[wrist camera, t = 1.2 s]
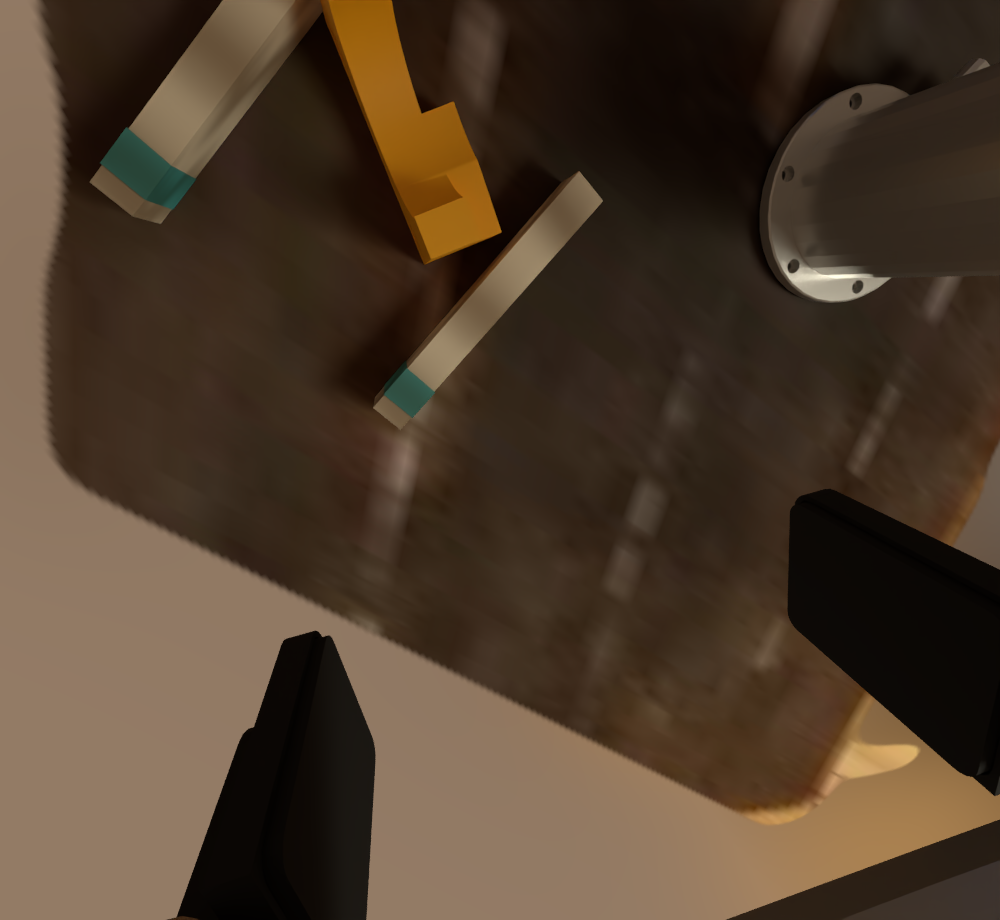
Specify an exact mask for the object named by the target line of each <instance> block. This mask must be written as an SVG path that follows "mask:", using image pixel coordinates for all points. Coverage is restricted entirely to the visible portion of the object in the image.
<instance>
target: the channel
mask: <svg viewBox="0 0 1000 920" xmlns="http://www.w3.org/2000/svg"><path fill="white" fill-rule="evenodd" d="M322 12H323V9H322V5H321V2H320V0H223V1H222V2H221V3H220V5H219V6H218V8H217V9H216V10H215V12H214V13H213V14H212V16H211V17H210V18H209V20H208V21H207V23H206V24H205V25H204V27H203V28H202V29H201V31H200V32H199V33H198V35H197V36H196V38H195V39H194V40H193V42H192V43H191V44H190V46H189V47H188V48H187V50H186V51H185V53H184V54H183V55H182V57H181V58H180V59H179V61H178V62H177V63H176V65H175V66H174V68H173V69H172V70H171V72H170V73H169V74H168V76H167V77H166V78H165V80H164V81H163V83H162V84H161V85H160V87H159V88H158V89H157V91H156V92H155V93H154V95H153V96H152V97H151V99H150V100H149V102H148V103H147V104H146V106H145V107H144V108H143V110H142V111H141V112H140V114H139V115H138V117H137V118H136V119H135V121H134V122H133V123H132V125H131V126H130V127H129V129H128V128H127V127H126V128H125V130H124V131H123V132H122V134H121V135H120V136H119V138H118V139H117V141H116V142H115V143H114V145H113V146H112V147H111V149H110V150H109V151H108V153H107V154H106V156H105V157H104V158H103V160H102V161H101V162H100V163H101V164H102V166H101V167H100V168H99V170H98V171H97V172H96V174H95V175H94V177H93V178H92V179H91V181H90V183H91V184H93V185H94V186H95V187H96V188H98V189H99V190H100V191H101V192H103V193H104V194H105V195H106V196H108V197H109V198H110V199H111V200H113V201H114V202H115V203H116V204H118V205H119V206H120V207H121V208H123V209H124V210H125V211H127V212H128V213H129V214H130V215H132V216H133V217H137V218H140V219H144V220H148V221H152V222H155V223H159V224H161V223H162V222H163V220H164V219H165V218H166V216H167V215H168V214H169V212H170V211H171V210H172V209H174V208H175V207H176V205H177V204H178V203H179V201H180V200H181V199H182V197H183V196H184V195H185V193H186V192H187V191H188V189H189V188H190V187H191V186H192V184H193V183H194V182H195V180H196V179H195V178H196V177H197V176H198V174H199V173H200V172H201V171H202V169H203V168H204V167H205V165H206V164H207V163H208V161H209V160H210V159H211V157H212V156H213V155H214V153H215V152H216V151H217V150H218V148H219V147H220V146H221V144H222V143H223V142H224V140H225V139H226V138H227V136H228V135H229V134H230V133H231V131H232V130H233V129H234V127H235V126H236V125H237V123H238V122H239V121H240V119H241V118H242V117H243V115H244V114H245V113H246V112H247V110H248V109H249V108H250V106H251V105H252V104H253V102H254V101H255V100H256V98H257V97H258V96H259V95H260V93H261V92H262V91H263V89H264V88H265V87H266V85H267V84H268V83H269V81H270V80H271V79H272V78H273V76H274V75H275V74H276V72H277V71H278V70H279V68H280V67H281V66H282V64H283V63H284V62H285V60H286V59H287V58H288V57H289V55H290V54H291V53H292V51H293V50H294V49H295V47H296V46H297V45H298V43H299V42H300V41H301V40H302V38H303V37H304V36H305V34H306V33H307V32H308V30H309V29H310V28H311V26H312V25H313V24H314V22H315V21H316V20H317V19H318V17H319V16H320V15H321V13H322ZM602 202H603V200H602V199H601V198H600V196H599V195H598V194H597V193H596V191H595V190H594V189H593V188H592V186H591V185H590V184H589V183H588V181H587V180H586V179H585V178H584V176H583V175H582V174H581V173H580V171H579V172H577V173H576V174H574V175H572V176H571V177H569V178H568V179H566V180H564V181H563V182H561V184H560V185H559V186H558V187H557V188H556V189H555V190H554V192H553V193H552V194H551V195H550V196H549V197H548V198H547V200H546V201H545V202H544V203H543V204H542V205H541V207H540V208H539V209H538V210H537V211H536V212H535V213H534V215H533V216H532V217H531V218H530V219H529V220H528V222H527V223H526V224H525V225H524V226H523V227H522V228H521V230H520V231H519V232H518V233H517V234H516V235H515V236H514V238H513V239H512V240H511V241H510V242H509V243H508V245H507V246H506V247H505V248H504V249H503V250H502V251H501V253H500V254H499V255H498V256H497V257H496V258H495V259H494V261H493V262H492V263H491V264H490V265H489V266H488V268H487V269H486V270H485V271H484V272H483V273H482V274H481V276H480V277H479V278H478V279H477V280H476V281H475V282H474V284H473V285H472V286H471V287H470V288H469V289H468V291H467V292H466V293H465V294H464V295H463V296H462V297H461V299H460V300H459V301H458V302H457V303H456V304H455V305H454V307H453V308H452V309H451V310H450V311H449V312H448V314H447V315H446V316H445V317H444V318H443V319H442V320H441V322H440V323H439V324H438V325H437V326H436V327H435V329H434V330H433V331H432V332H431V333H430V334H429V335H428V337H427V338H426V339H425V340H424V341H423V342H422V343H421V345H420V346H419V347H418V348H417V349H416V350H415V352H414V353H413V354H412V355H411V356H410V357H409V358H408V360H407V361H405V362H404V363H403V364H402V365H401V366H400V368H399V369H398V370H397V371H396V372H395V373H394V374H393V376H392V377H391V378H390V379H389V380H388V381H387V382H386V384H385V386H384V387H383V388H382V389H381V391H380V392H379V393H378V394H377V395H376V396H375V400H374V405H373V408H374V409H375V410H376V411H378V412H379V413H380V414H381V415H383V416H384V417H385V418H386V419H388V420H389V421H390V422H392V423H393V424H394V425H395V426H397V427H398V428H399V429H400V430H401V429H402V427H403V426H404V425H405V424H406V423H407V422H408V421H409V420H410V418H411V417H412V418H413V417H414V416H415V415H416V413H417V412H418V411H419V410H420V409H421V408H422V407H423V406H424V404H425V403H426V402H427V401H428V400H429V399H430V398H431V397H432V395H433V394H434V393H435V390H436V389H437V388H438V387H439V386H440V385H441V383H442V382H443V381H444V380H445V379H446V378H447V377H448V376H449V374H450V373H451V372H452V371H453V370H454V369H455V368H456V366H457V365H458V364H459V363H460V362H461V361H462V360H463V359H464V357H465V356H466V355H467V354H468V353H469V352H470V351H471V350H472V348H473V347H474V346H475V345H476V344H477V343H478V342H479V341H480V339H481V338H482V337H483V336H484V335H485V334H486V333H487V331H488V330H489V329H490V328H491V327H492V326H493V325H494V324H495V322H496V321H497V320H498V319H499V318H500V317H501V316H502V315H503V313H504V312H505V311H506V310H507V309H508V308H509V307H510V306H511V304H512V303H513V302H514V301H515V300H516V299H517V298H518V296H519V295H520V294H521V293H522V292H523V291H524V290H525V289H526V287H527V286H528V285H529V284H530V283H531V282H532V281H533V280H534V278H535V277H536V276H537V275H538V274H539V273H540V272H541V271H542V269H543V268H544V267H545V266H546V265H547V264H548V263H549V262H550V260H551V259H552V258H553V257H554V256H555V255H556V254H557V252H558V251H559V250H560V249H561V248H562V247H563V246H564V245H565V243H566V242H567V241H568V240H569V239H570V238H571V237H572V236H573V234H574V233H575V232H576V231H577V230H578V229H579V228H580V227H581V225H582V224H583V223H584V222H585V221H586V220H587V219H588V217H589V216H590V215H591V214H592V213H593V212H594V211H595V210H596V208H597V207H598V206H599V205H600V204H601V203H602Z"/></svg>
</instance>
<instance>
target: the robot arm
mask: <svg viewBox="0 0 1000 920" xmlns="http://www.w3.org/2000/svg"><path fill="white" fill-rule="evenodd" d="M760 236H761V242H762V248H763V251H764V254H765V257H766V259H767V262H768V265H769V267H770V268H771V270H772V272H773V273H774V275H775V277H776V278H777V280H778V281H779V282H780V283H781V284H782V285H783V286H784V287H785V288H786V289H787V290H789V291H790V292H792V293H794V294H795V295H797V296H799V297H800V298H804V299H807V300H810V301H813V302H828V303H833V302H846V301H850V300H854V299H857V298H860V297H862V296H864V295H866V294H868V293H870V292H872V291H874V290H876V289H877V288H878V287H880V286H881V285H882V284H884V283H885V282H886V281H888V280H889V279H890V278H891V277H942V276H997V275H1000V62H999V63H996V64H994V65H991V66H990V65H989V64H988V62H987V61H986V60H983V59H980V58H977V59H972V60H970V61H969V62H968V63H966V64H965V65H964V66H963V67H962V68H961V69H960V71H959V72H958V73H957V74H956V75H955V76H954V77H953V78H952V79H951V80H950V81H948V82H945V83H942V84H940V85H937V86H934V87H932V88H929V89H926V90H924V91H921V92H918V93H915V94H913V95H909V94H908V93H906V92H904V91H902V90H900V89H898V88H896V87H894V86H890V85H884V84H877V83H874V84H865V85H858V86H855V87H853V88H850V89H847V90H844V91H842V92H839V93H837V94H835V95H833V96H831V97H829V98H827V99H825V100H823V101H821V102H820V103H819V104H817V105H816V106H815V107H813V108H812V109H811V110H810V111H808V112H807V113H806V114H805V115H804V116H803V117H802V118H801V119H800V120H799V121H798V122H797V123H796V124H795V126H794V127H793V128H792V129H791V130H790V132H789V133H788V135H787V136H786V138H785V139H784V141H783V142H782V144H781V145H780V147H779V148H778V150H777V153H776V155H775V157H774V159H773V161H772V163H771V165H770V167H769V170H768V174H767V177H766V180H765V183H764V187H763V191H762V198H761V204H760ZM788 616H789V619H790V621H791V623H792V624H793V626H794V627H795V628H796V629H797V630H798V631H799V632H800V633H801V634H802V635H803V636H805V637H806V638H807V639H808V640H809V641H810V642H811V643H812V644H814V645H815V646H816V647H817V648H818V649H819V650H820V651H822V652H823V653H824V654H825V655H826V656H827V657H828V658H830V659H831V660H832V661H833V662H834V663H835V664H836V665H837V666H839V667H840V668H841V669H842V670H843V671H844V672H845V673H847V674H848V675H849V676H850V677H851V678H852V679H853V680H854V681H856V682H857V683H858V684H859V685H860V686H861V687H862V688H864V689H865V690H866V691H867V692H868V693H869V694H870V695H872V696H873V697H874V698H875V699H876V700H877V701H878V702H879V703H881V704H882V705H883V706H884V707H885V708H886V709H887V710H889V711H890V712H891V713H892V714H893V715H894V716H895V717H896V718H898V719H899V720H900V721H901V722H902V723H903V724H904V725H906V726H907V727H908V728H909V729H910V730H911V731H912V732H913V733H915V734H916V735H917V736H918V737H919V738H920V739H921V740H923V741H924V742H925V743H926V744H927V745H928V746H930V747H931V748H932V749H933V750H934V751H935V752H936V753H937V754H938V755H940V756H941V757H942V758H943V759H944V760H945V761H946V762H948V763H949V764H950V765H951V766H952V767H953V768H955V769H956V770H957V771H959V772H960V773H962V774H964V775H966V776H970V777H973V778H974V779H976V780H977V781H978V782H979V783H980V784H982V785H983V786H984V787H985V788H986V789H987V790H988V791H989V792H991V793H992V794H993V795H994V796H996V795H999V794H1000V570H999V569H997V568H995V567H993V566H991V565H989V564H987V563H984V562H982V561H980V560H978V559H976V558H974V557H972V556H970V555H968V554H966V553H964V552H961V551H960V550H957V549H955V548H953V547H951V546H949V545H947V544H945V543H943V542H941V541H939V540H937V539H935V538H933V537H930V536H928V535H926V534H924V533H922V532H920V531H918V530H916V529H914V528H912V527H910V526H908V525H906V524H903V523H901V522H899V521H897V520H895V519H893V518H891V517H889V516H887V515H885V514H883V513H881V512H879V511H876V510H874V509H872V508H870V507H868V506H866V505H864V504H862V503H860V502H858V501H856V500H854V499H852V498H849V497H847V496H845V495H843V494H841V493H839V492H837V491H835V490H832V489H824V490H820V491H817V492H813V493H810V494H806V495H802V496H800V497H799V498H798V499H797V500H796V502H795V505H794V506H793V507H792V508H791V511H790V535H789V573H788ZM374 776H375V747H374V742H373V738H372V735H371V733H370V730H369V728H368V725H367V723H366V720H365V718H364V716H363V713H362V710H361V708H360V706H359V703H358V701H357V698H356V696H355V693H354V691H353V688H352V686H351V683H350V681H349V678H348V676H347V673H346V671H345V668H344V666H343V664H342V661H341V659H340V656H339V654H338V651H337V649H336V646H335V644H334V641H333V639H332V638H331V637H330V636H325V637H322V636H321V634H320V633H319V632H318V631H313V632H309V633H306V634H302V635H299V636H295V637H291V638H288V639H285V640H284V641H283V643H282V645H281V648H280V651H279V654H278V657H277V660H276V663H275V666H274V669H273V672H272V675H271V678H270V681H269V684H268V687H267V690H266V693H265V696H264V699H263V702H262V705H261V708H260V711H259V714H258V717H257V720H256V723H255V726H254V727H253V728H250V729H248V730H247V731H246V732H245V733H244V734H243V735H242V737H241V739H240V741H239V744H238V746H237V749H236V752H235V755H234V758H233V760H232V763H231V766H230V769H229V772H228V774H227V777H226V780H225V783H224V786H223V788H222V791H221V794H220V797H219V800H218V803H217V805H216V808H215V811H214V814H213V816H212V819H211V822H210V825H209V828H208V830H207V834H206V836H205V839H204V842H203V845H202V847H201V850H200V853H199V856H198V859H197V862H196V864H195V867H194V870H193V873H192V875H191V878H190V881H189V884H188V887H187V889H186V892H185V895H184V898H183V901H182V903H181V906H180V909H179V912H178V915H177V917H176V918H172V919H168V920H366V914H367V897H368V896H367V895H368V879H369V862H370V845H371V828H372V810H373V809H372V808H373V793H374ZM727 920H1000V820H997V821H994V822H992V823H989V824H986V825H983V826H981V827H978V828H975V829H972V830H970V831H967V832H964V833H961V834H959V835H956V836H953V837H950V838H948V839H945V840H942V841H939V842H936V843H934V844H931V845H928V846H925V847H922V848H920V849H917V850H914V851H912V852H909V853H906V854H904V855H901V856H898V857H895V858H893V859H890V860H887V861H884V862H882V863H879V864H877V865H873V866H871V867H868V868H865V869H863V870H860V871H857V872H855V873H852V874H849V875H846V876H844V877H841V878H838V879H835V880H833V881H830V882H827V883H824V884H822V885H819V886H816V887H814V888H811V889H808V890H805V891H803V892H800V893H797V894H795V895H792V896H789V897H786V898H784V899H781V900H778V901H776V902H773V903H770V904H768V905H765V906H762V907H759V908H757V909H754V910H751V911H749V912H746V913H743V914H740V915H738V916H736V917H732V918H730V919H727Z"/></svg>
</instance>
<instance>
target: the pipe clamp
mask: <svg viewBox="0 0 1000 920" xmlns="http://www.w3.org/2000/svg"><path fill="white" fill-rule="evenodd" d="M320 2H321V5H322V9H323V13H324V17H325V21H326V24H327V26H328V29H329V31H330V34H331V36H332V38H333V41H334V43H335V46H336V48H337V51H338V53H339V56H340V58H341V61H342V63H343V66H344V68H345V71H346V73H347V76H348V78H349V81H350V83H351V85H352V88H353V90H354V93H355V95H356V98H357V100H358V103H359V105H360V108H361V110H362V113H363V115H364V118H365V120H366V123H367V125H368V128H369V130H370V132H371V135H372V137H373V140H374V142H375V145H376V147H377V150H378V152H379V155H380V157H381V160H382V162H383V165H384V167H385V170H386V172H387V174H388V177H389V179H390V182H391V184H392V187H393V189H394V192H395V194H396V197H397V199H398V202H399V204H400V207H401V209H402V212H403V214H404V217H405V219H406V221H407V224H408V226H409V229H410V231H411V234H412V236H413V239H414V241H415V244H416V246H417V249H418V251H419V254H420V256H421V259H422V261H423V263H424V265H425V264H427V263H430V262H432V261H435V260H437V259H440V258H442V257H444V256H447V255H449V254H452V253H454V252H457V251H459V250H462V249H464V248H467V247H469V246H472V245H474V244H477V243H479V242H481V241H484V240H486V239H489V238H491V237H493V236H495V235H497V234H499V233H501V232H502V231H501V228H500V225H499V222H498V220H497V217H496V214H495V211H494V208H493V205H492V202H491V199H490V196H489V193H488V190H487V187H486V184H485V181H484V178H483V175H482V172H481V169H480V166H479V163H478V160H477V158H476V157H475V154H474V152H473V150H472V148H471V146H470V144H469V141H468V139H467V136H466V134H465V131H464V129H463V126H462V124H461V121H460V118H459V115H458V112H457V109H456V106H455V103H454V101H453V102H451V103H448V104H446V105H443V106H441V107H438V108H435V109H433V110H430V111H428V112H425V113H423V114H422V113H421V111H420V108H419V105H418V102H417V99H416V95H415V92H414V89H413V86H412V83H411V79H410V76H409V73H408V69H407V66H406V62H405V58H404V55H403V51H402V47H401V43H400V39H399V35H398V30H397V26H396V21H395V16H394V11H393V5H392V0H320Z"/></svg>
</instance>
